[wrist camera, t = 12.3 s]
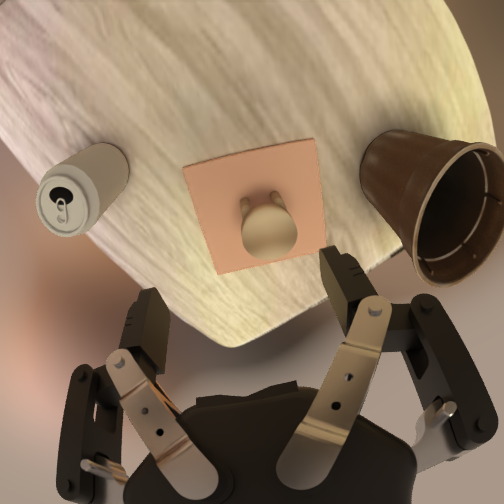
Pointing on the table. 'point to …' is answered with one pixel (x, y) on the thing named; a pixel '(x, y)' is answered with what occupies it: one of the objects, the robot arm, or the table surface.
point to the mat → (257, 199)
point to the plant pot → (438, 200)
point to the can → (81, 189)
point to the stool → (267, 228)
